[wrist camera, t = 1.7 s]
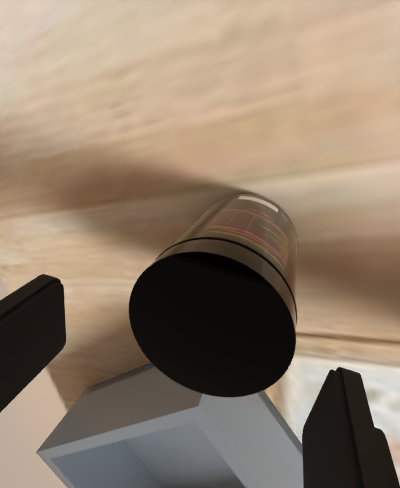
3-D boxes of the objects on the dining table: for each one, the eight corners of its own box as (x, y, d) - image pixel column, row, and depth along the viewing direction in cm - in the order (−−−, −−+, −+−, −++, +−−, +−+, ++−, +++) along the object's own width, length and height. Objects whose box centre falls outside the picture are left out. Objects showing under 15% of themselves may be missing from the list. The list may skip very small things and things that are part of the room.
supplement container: (194, 268, 23) (125, 366, 14) (207, 181, 20) (131, 231, 11) (283, 292, 22) (272, 419, 13) (310, 202, 19) (321, 279, 10)
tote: (333, 489, 27) (343, 597, 21) (182, 504, 35) (157, 587, 29) (223, 334, 25) (198, 406, 18) (86, 388, 32) (36, 452, 26)
